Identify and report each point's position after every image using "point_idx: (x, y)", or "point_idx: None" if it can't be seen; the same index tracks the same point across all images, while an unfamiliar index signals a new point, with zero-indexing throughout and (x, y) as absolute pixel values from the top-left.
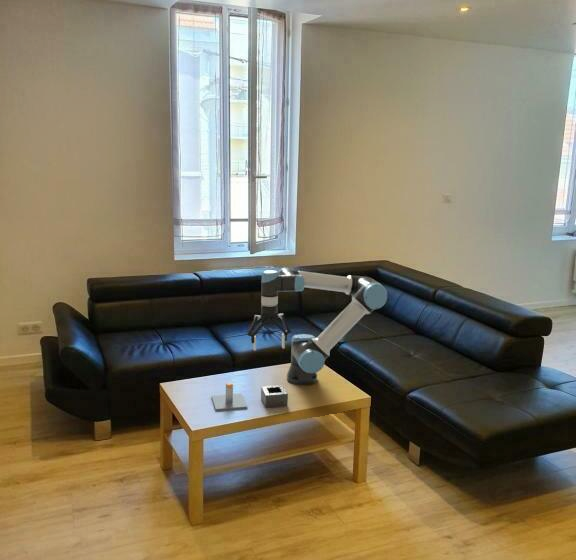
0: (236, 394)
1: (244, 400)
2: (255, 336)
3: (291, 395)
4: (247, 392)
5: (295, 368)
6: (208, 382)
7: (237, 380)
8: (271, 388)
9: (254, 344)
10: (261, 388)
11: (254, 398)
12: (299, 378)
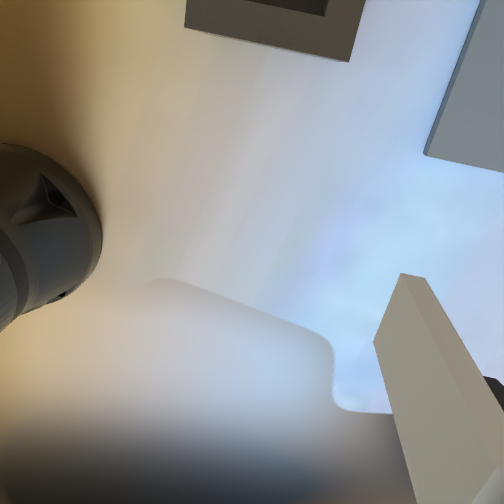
0: (464, 154)
1: (472, 43)
2: (478, 501)
3: (140, 41)
4: (366, 184)
5: (19, 230)
6: (484, 365)
7: (341, 333)
8: (284, 9)
9: (460, 339)
10: (350, 50)
11: (371, 87)
12: (32, 176)
